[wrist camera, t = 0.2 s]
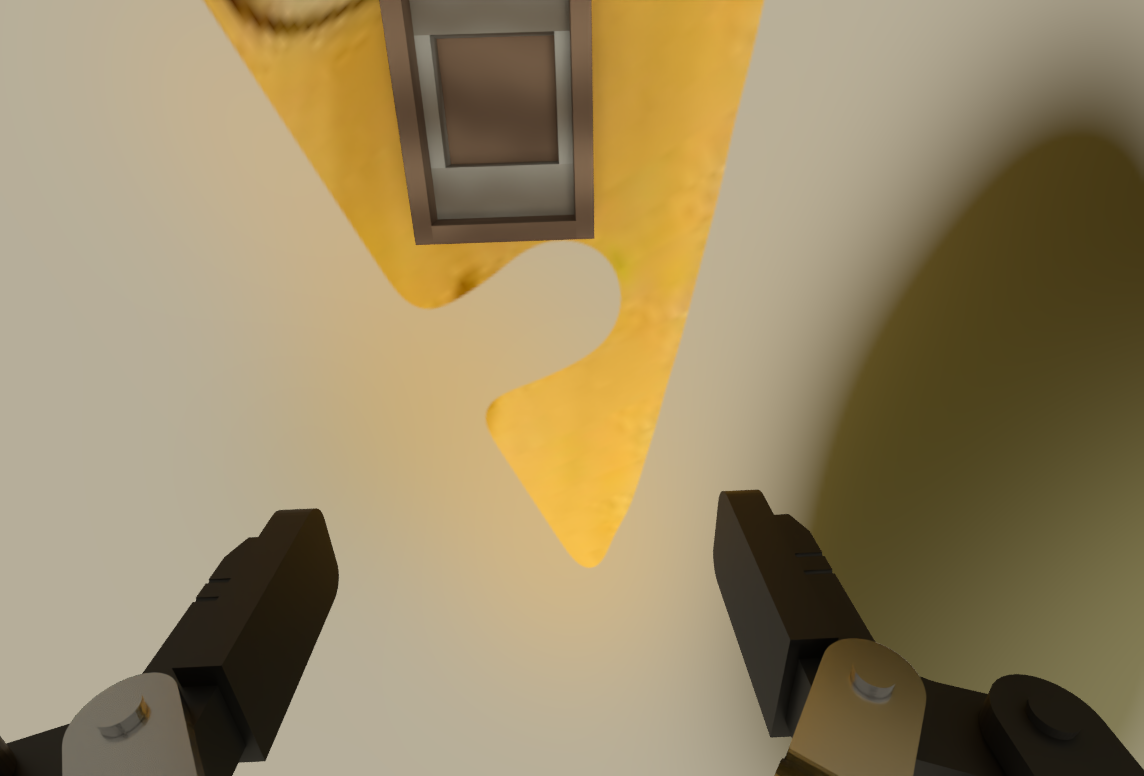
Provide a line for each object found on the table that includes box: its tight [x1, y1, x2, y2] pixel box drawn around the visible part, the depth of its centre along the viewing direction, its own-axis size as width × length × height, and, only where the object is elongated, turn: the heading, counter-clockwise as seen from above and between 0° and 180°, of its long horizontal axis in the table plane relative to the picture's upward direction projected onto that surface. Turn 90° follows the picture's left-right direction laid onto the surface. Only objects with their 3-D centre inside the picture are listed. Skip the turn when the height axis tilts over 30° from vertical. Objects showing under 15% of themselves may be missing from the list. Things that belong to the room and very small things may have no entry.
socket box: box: [379, 0, 594, 245], centre depth 32 cm, size 14×10×5 cm
